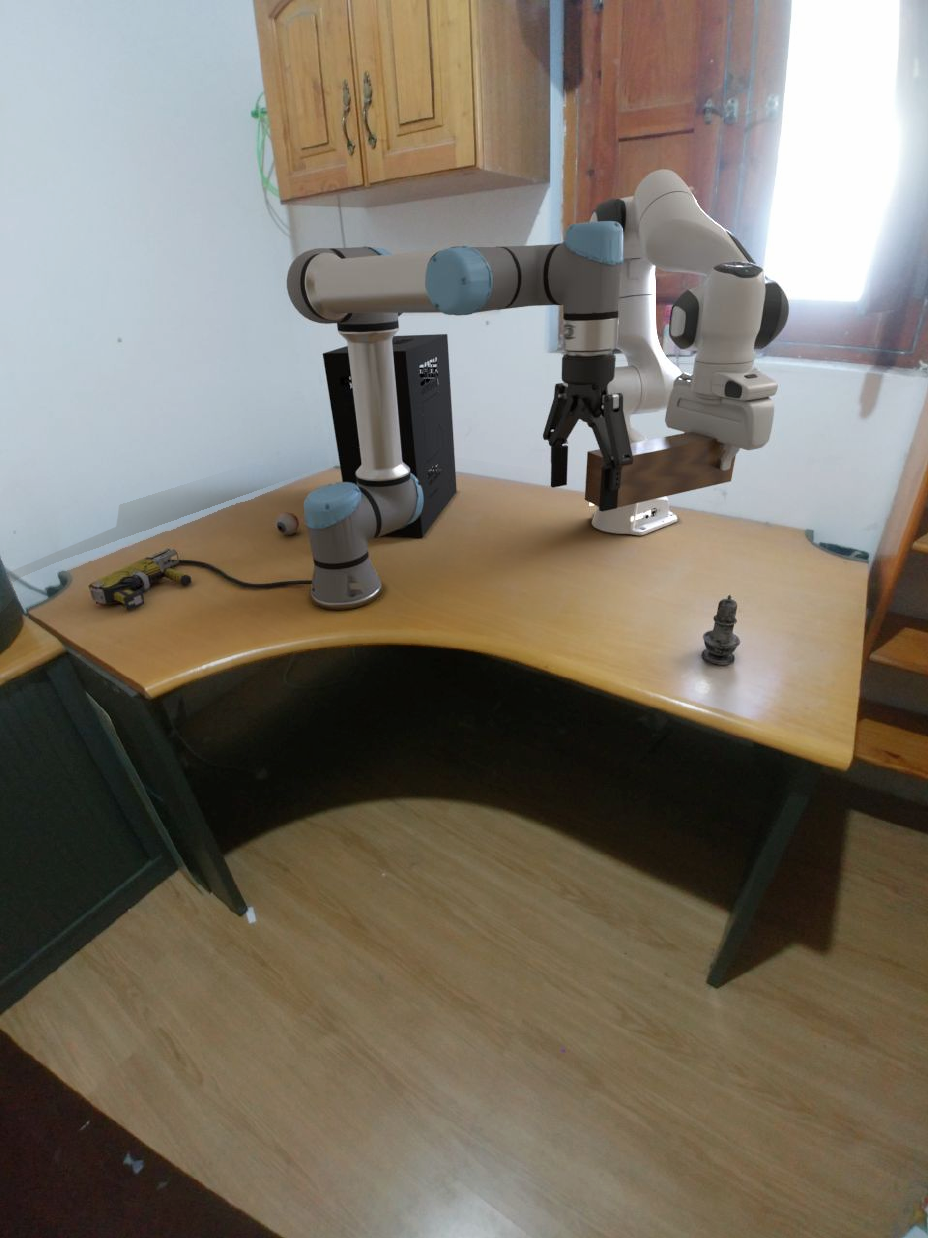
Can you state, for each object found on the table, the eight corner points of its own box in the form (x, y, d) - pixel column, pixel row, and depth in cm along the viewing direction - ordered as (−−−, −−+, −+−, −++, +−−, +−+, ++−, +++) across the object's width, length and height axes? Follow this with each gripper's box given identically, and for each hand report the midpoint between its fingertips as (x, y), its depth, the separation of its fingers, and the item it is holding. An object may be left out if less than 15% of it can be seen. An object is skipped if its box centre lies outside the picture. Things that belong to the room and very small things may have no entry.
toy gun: (215, 556, 146) (165, 546, 150) (137, 598, 126) (82, 584, 130) (218, 574, 148) (168, 563, 152) (142, 617, 128) (87, 603, 132)
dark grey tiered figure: (739, 667, 101) (752, 604, 95) (702, 664, 102) (713, 602, 96) (733, 648, 106) (745, 587, 100) (697, 646, 107) (708, 585, 101)
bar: (706, 472, 109) (713, 427, 105) (731, 481, 105) (739, 434, 100) (584, 499, 100) (587, 451, 96) (605, 510, 96) (609, 459, 91)
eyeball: (273, 537, 164) (268, 516, 161) (287, 528, 169) (282, 508, 166) (291, 539, 161) (286, 518, 158) (305, 530, 166) (301, 510, 163)
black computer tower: (422, 537, 158) (405, 350, 135) (350, 534, 162) (322, 353, 140) (456, 491, 189) (447, 333, 167) (395, 489, 194) (378, 336, 171)
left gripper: (522, 347, 94) (522, 481, 105) (622, 363, 74) (610, 526, 85) (563, 343, 96) (559, 473, 107) (670, 357, 77) (653, 515, 87)
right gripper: (661, 373, 104) (652, 453, 111) (756, 390, 88) (739, 482, 95) (690, 369, 106) (679, 447, 113) (787, 385, 90) (768, 475, 97)
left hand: (581, 497), depth 96 cm, fingers open, 13 cm apart
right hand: (707, 464), depth 104 cm, fingers closed on bar, 6 cm apart
